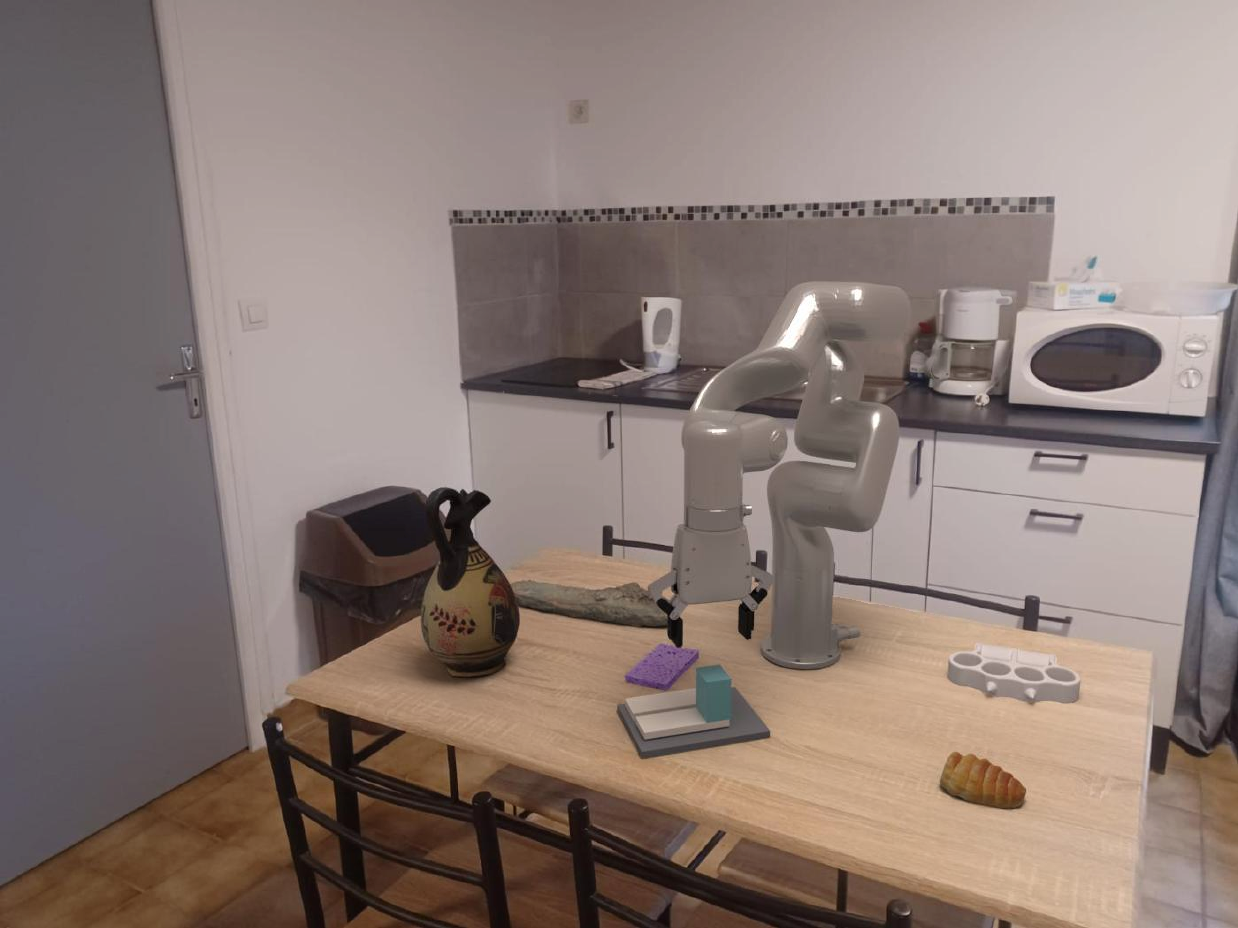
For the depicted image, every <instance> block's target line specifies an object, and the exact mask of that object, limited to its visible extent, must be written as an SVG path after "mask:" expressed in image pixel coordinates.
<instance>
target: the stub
mask: <svg viewBox="0 0 1238 928" xmlns="http://www.w3.org/2000/svg"><path fill="white" fill-rule="evenodd" d="M731 687H732V677H731V676H730V675H729V674H728V672H727V671H726V670H725V669H724V667H723V666H722V665H721V664H714V665H707V666H700V667H695V688H696V707H695V708H689V709H683V710H676V711H670V712H663V713H657V714H650V715H644V716H637V717H635V721H636V725H637V727H638V729H639V731H640V732H641V734H642V736H643V738H644V740H646V739H652V738H658V737H664V736H670V735H677V734H683V733H689V732H695V731H702V730H708V729H714V728H720V727H727V726H729V719H731Z"/></svg>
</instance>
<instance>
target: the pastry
mask: <svg viewBox="0 0 1238 928" xmlns="http://www.w3.org/2000/svg"><path fill="white" fill-rule="evenodd" d="M939 784H940V785H941V786H942V787H943V788H944V789H945V790H946V791H947V792H948V793H949V794H950V795H952V796H953V797H956V796H957V797H960V798H962V799H963V800H964V801H967V802H970V803H974V804H980V805H982V806H988V807H993V808H1000V809H1006V808H1014V809H1015V808H1018V807H1020V806H1021V805H1022V804H1023V803H1024V801H1025V796H1026V794H1027V788H1026V787H1025V786H1024V785H1023V783H1022V782H1021V781H1020V780H1019V779H1017V778H1015V777H1014V775H1013V774H1011V773H1010V772H1007V771H1005V770H1004V769H1003V768H1002V767H1001V766H999V765H995V764H993V763H991V762H990V761H989V760H988V759H987V758H981V759H980V758H979V757H978V756H976V755H975V754H974V753H968V754H966V755H963V754H962V753H960V752H958V751H953V752H952V753H950V754H949V756H947V759H946V762H945V764H944V767H943V770H942V772H941V776H940V779H939Z"/></svg>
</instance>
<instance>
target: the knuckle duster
mask: <svg viewBox="0 0 1238 928" xmlns="http://www.w3.org/2000/svg"><path fill="white" fill-rule="evenodd" d="M1057 658H1058V657H1057V655H1055V653H1049V654H1047V653H1041V652H1035V651H1030V650H1023V649H1018V648H1016V647H1012V648H1011V647H1003V646H1000V645H993V644H992V645H991V644H984V643H983V642H976V643H975V645H974V650H971V651H957V652H954V653H952V654H950V656H949V657H948V664H947V676H946V677H947V679H948V680H949V681H950V682H951V683H952V684H955V685H956V686H958V687H967V688H972V689H975V690H978V691H980V692H981V693H983V694H985V695H990V696H994V697H996V698H1001V697H1002V698H1010V699H1011V698H1012V699H1015V700H1018V701H1021V702H1029V703H1039V702H1044V701H1045V702H1046V701H1048V702H1056V703H1060V704H1064V705H1065V704H1072V703H1076V702H1077V701H1079V700H1078V699H1079V697H1080V688H1081V680H1082V679H1081V676H1080V675H1079V674H1078V673H1077V672H1076V671H1074V670H1073V669H1070V668H1068V667H1065V666H1062V665H1060V664H1058V662H1057V661H1058V659H1057Z"/></svg>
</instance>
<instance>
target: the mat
mask: <svg viewBox="0 0 1238 928" xmlns="http://www.w3.org/2000/svg"><path fill="white" fill-rule="evenodd" d="M616 709H617V710H616V711H617V713H618V715H619V717H620V719H621V720H622V721H621V722H622V723H623V725H624V727H625V729H626V731H627V732H628V734H629V736H630V738H631V741H632V742H633V744H634V746H635V748H636V750H637V752H638V754H639V756H640V757H641V759H643V760H644V759H650V758H655V757H656V758H657V757H661V756H667V755H674V754H679V753H686V752H692V751H697V750H698V751H699V750H703V749H709V748H714V747H721V746H727V745H734V744H739V743H745V742H752V741H758V740H764V739H770V738H771V730H770V729H769V727H768V726H767V725H766V723H765V722H764V721H763V720H762V718H761V717H760V716H759V715H758V714H757V713H756V711H755V710H754V708H753V707H752V706H751V705H750V704H749V702H748V701H747V700H746V699H745V697H744V696H743V695H742V694H741V692H740V691H739V690H738V689H737V687H736V686H733V687H732V686H731V719H729V726H727V727H720V728H714V729H708V730H702V731H695V732H689V733H683V734H677V735H670V736H664V737H658V738H652V739H646V740H644V738H643V736H642V734H641V732H640V731H639V729H638V727H637V725H636V721H633V720H632V718H631V716H630V714H629V712H628V710H627V708H626V707H625V702H624V703H619V704H618V703H617V704H616Z"/></svg>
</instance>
